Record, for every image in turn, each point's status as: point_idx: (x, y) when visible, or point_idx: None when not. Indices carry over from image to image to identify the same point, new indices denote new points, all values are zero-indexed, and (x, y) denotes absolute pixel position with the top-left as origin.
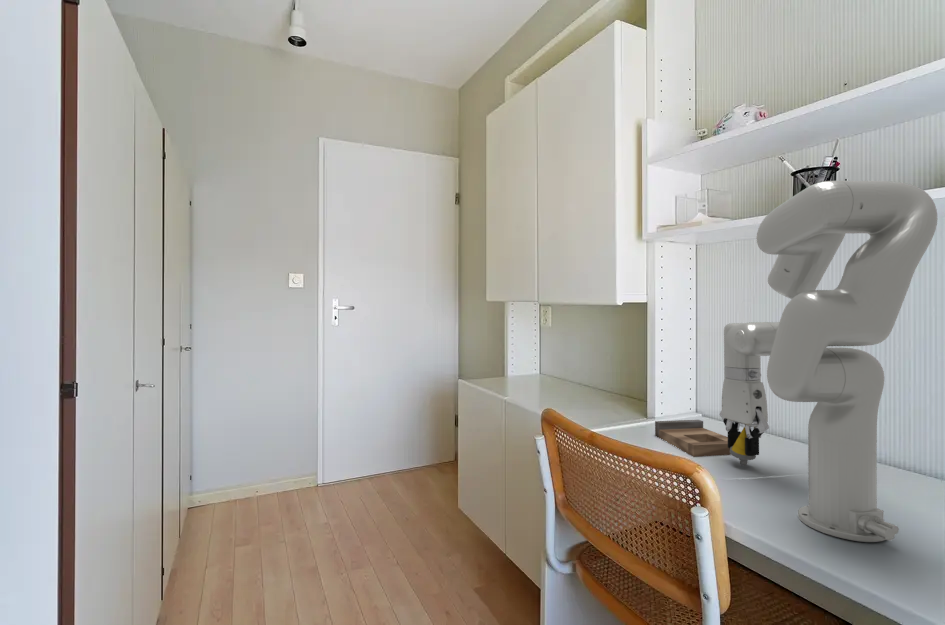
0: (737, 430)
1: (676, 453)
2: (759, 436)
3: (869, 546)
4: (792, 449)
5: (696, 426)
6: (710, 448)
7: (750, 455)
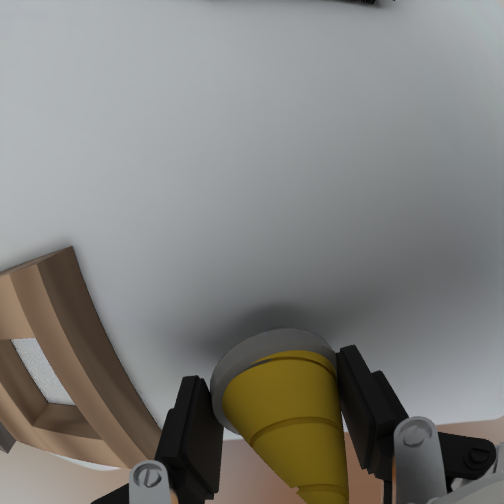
0: (187, 480)
1: None
2: (438, 434)
3: None
4: (27, 17)
5: None
6: (128, 416)
7: (336, 375)
